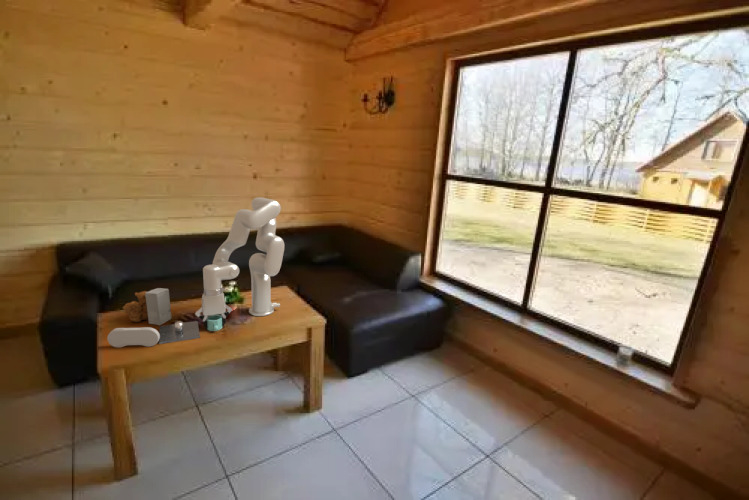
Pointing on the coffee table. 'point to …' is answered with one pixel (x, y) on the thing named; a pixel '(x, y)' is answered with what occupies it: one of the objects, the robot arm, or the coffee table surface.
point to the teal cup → (214, 322)
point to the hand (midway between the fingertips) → (214, 326)
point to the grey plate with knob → (179, 332)
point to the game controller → (133, 337)
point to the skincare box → (158, 306)
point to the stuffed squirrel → (137, 308)
